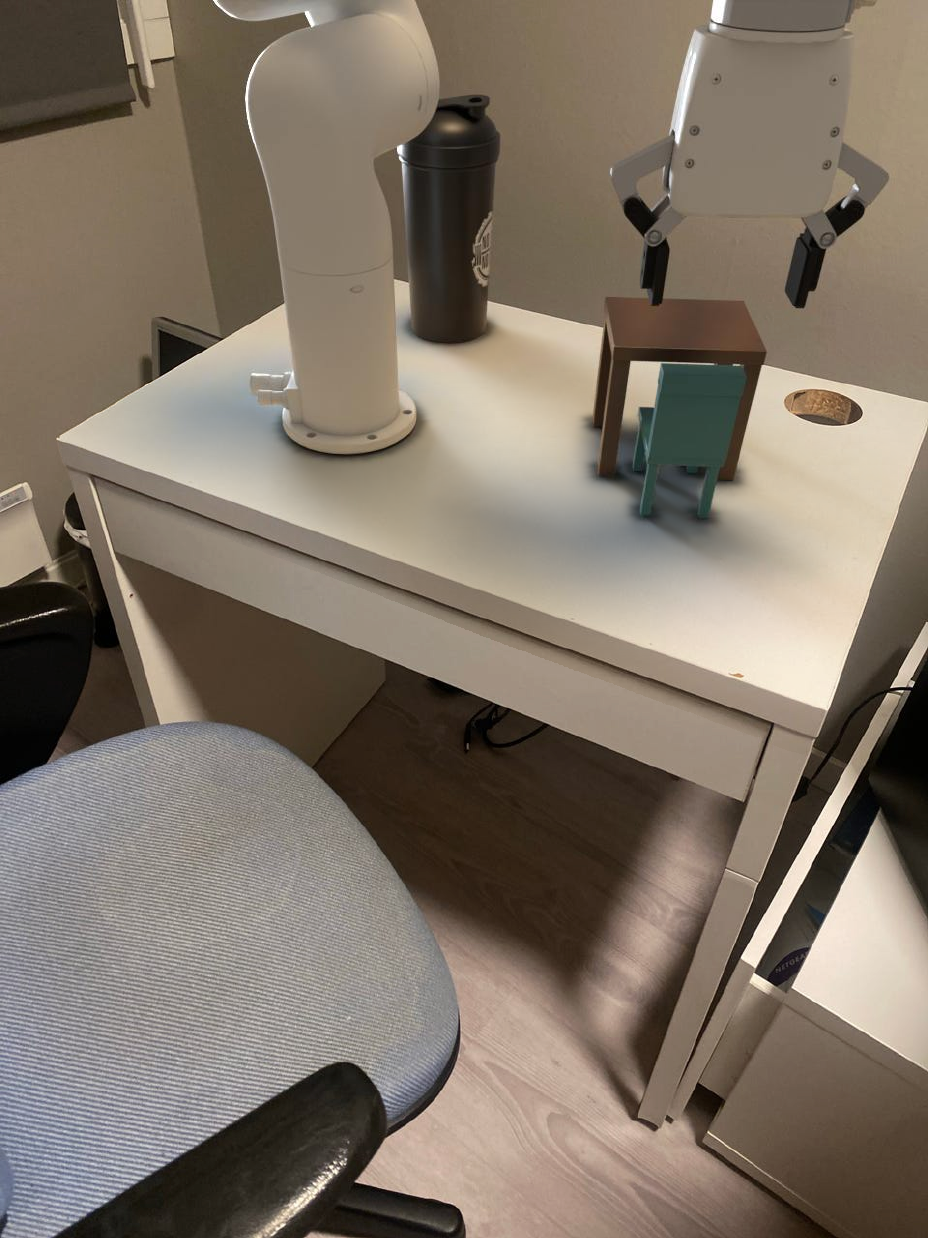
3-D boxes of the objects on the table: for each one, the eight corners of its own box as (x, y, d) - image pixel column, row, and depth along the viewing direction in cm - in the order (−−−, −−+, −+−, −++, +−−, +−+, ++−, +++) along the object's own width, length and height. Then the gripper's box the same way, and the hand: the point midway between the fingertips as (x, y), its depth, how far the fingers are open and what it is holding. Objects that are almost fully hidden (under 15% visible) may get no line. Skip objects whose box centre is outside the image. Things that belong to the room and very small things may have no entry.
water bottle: (484, 350, 97) (491, 111, 82) (393, 341, 99) (383, 105, 83) (500, 312, 105) (509, 87, 89) (415, 304, 106) (410, 82, 91)
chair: (712, 523, 74) (746, 376, 65) (638, 520, 74) (663, 373, 65) (697, 467, 80) (727, 327, 71) (629, 464, 80) (651, 324, 72)
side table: (597, 475, 79) (614, 346, 71) (591, 419, 86) (605, 296, 78) (735, 480, 78) (767, 351, 70) (716, 423, 86) (744, 300, 78)
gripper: (913, -7, 53) (835, 281, 65) (621, -8, 54) (595, 277, 65) (960, 13, 48) (865, 324, 59) (633, 11, 48) (602, 319, 60)
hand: (723, 299), depth 62 cm, fingers open, 9 cm apart
